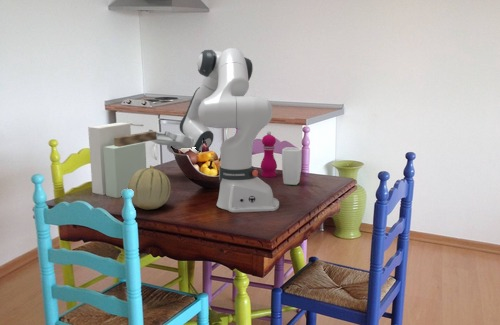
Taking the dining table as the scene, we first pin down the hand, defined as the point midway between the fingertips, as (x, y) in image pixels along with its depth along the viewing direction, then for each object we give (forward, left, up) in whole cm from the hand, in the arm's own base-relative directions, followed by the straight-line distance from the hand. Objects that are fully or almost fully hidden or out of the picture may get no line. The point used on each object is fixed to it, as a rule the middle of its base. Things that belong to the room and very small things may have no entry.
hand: (157, 132), depth 219 cm
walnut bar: (+6, +11, -3) cm, 12 cm away
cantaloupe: (-6, +37, -22) cm, 43 cm away
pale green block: (+9, +16, -22) cm, 28 cm away
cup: (-56, -1, -22) cm, 60 cm away
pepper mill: (-46, -15, -22) cm, 53 cm away
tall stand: (+16, +12, -22) cm, 29 cm away
